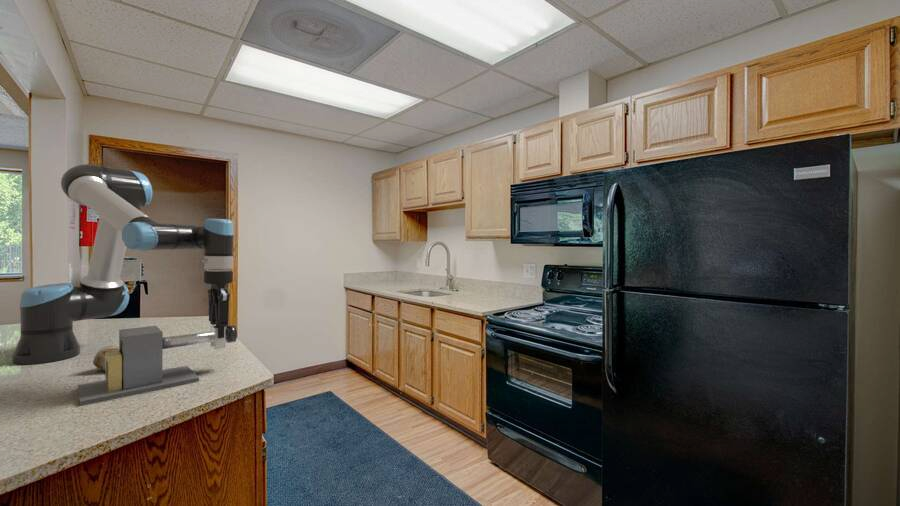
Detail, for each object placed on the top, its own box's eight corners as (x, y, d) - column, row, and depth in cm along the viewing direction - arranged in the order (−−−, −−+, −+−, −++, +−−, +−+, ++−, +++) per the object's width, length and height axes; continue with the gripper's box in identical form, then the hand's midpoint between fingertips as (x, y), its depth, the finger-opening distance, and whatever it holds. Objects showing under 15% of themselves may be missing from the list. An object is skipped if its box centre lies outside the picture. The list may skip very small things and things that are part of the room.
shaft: (133, 354, 105) (134, 335, 105) (231, 340, 122) (231, 323, 122) (136, 358, 101) (136, 339, 101) (236, 343, 118) (236, 326, 118)
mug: (122, 376, 111) (101, 347, 109) (103, 386, 114) (83, 358, 112) (147, 362, 118) (128, 335, 116) (129, 372, 121) (110, 345, 119)
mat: (77, 388, 100) (77, 384, 100) (187, 368, 117) (187, 365, 117) (80, 405, 90) (80, 401, 90) (198, 381, 108) (199, 377, 108)
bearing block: (119, 383, 105) (119, 329, 104) (155, 376, 110) (155, 325, 110) (123, 394, 98) (123, 336, 97) (162, 386, 103) (162, 332, 103)
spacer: (105, 382, 102) (105, 349, 102) (117, 380, 104) (117, 347, 104) (108, 392, 96) (108, 356, 96) (121, 390, 98) (121, 354, 97)
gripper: (197, 268, 119) (196, 343, 120) (212, 272, 108) (211, 355, 109) (224, 267, 125) (223, 339, 125) (241, 271, 113) (240, 350, 114)
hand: (217, 346), depth 117 cm, fingers closed on shaft, 3 cm apart
